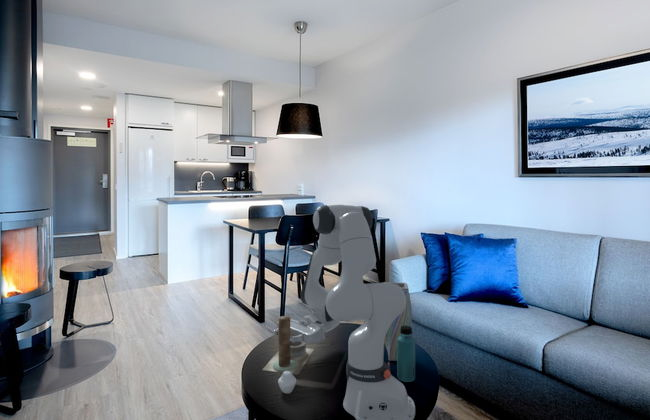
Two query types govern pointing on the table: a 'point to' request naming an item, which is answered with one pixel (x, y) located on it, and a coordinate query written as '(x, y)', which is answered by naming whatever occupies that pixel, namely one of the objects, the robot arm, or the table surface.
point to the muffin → (287, 382)
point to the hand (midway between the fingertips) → (282, 336)
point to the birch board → (293, 357)
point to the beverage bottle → (406, 355)
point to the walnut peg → (284, 341)
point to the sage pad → (283, 369)
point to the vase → (398, 324)
